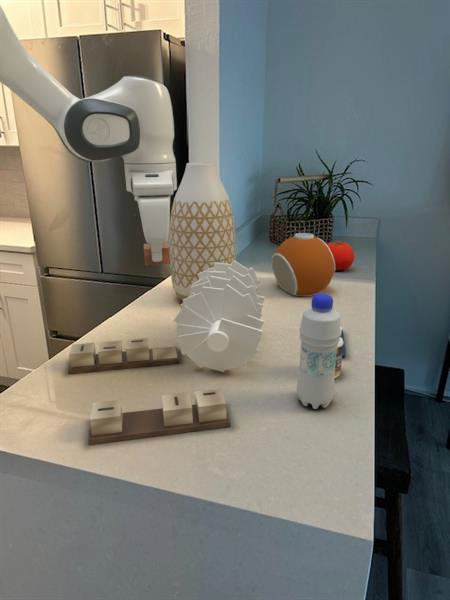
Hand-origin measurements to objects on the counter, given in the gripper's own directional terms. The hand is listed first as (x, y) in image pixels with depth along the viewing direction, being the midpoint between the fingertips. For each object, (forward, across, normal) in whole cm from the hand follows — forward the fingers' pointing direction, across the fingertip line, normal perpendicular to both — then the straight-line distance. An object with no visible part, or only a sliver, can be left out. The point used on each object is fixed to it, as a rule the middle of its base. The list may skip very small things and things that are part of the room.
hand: (156, 256), depth 80 cm
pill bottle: (+23, +9, +31) cm, 40 cm away
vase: (+23, -39, +14) cm, 47 cm away
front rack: (+23, +20, -2) cm, 30 cm away
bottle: (+23, +18, +25) cm, 39 cm away
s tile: (+1, 0, 0) cm, 1 cm away
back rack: (+23, -4, -8) cm, 25 cm away
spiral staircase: (+23, -5, +13) cm, 27 cm away
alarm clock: (+24, -41, +45) cm, 65 cm away
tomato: (+24, -60, +65) cm, 91 cm away
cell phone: (+23, -3, +37) cm, 44 cm away
